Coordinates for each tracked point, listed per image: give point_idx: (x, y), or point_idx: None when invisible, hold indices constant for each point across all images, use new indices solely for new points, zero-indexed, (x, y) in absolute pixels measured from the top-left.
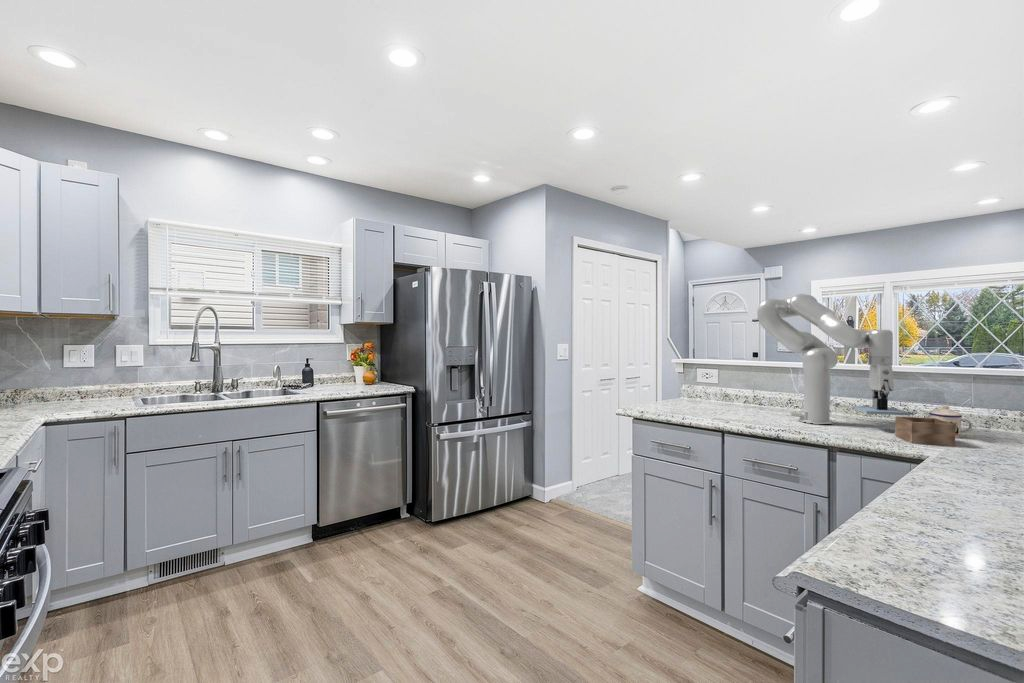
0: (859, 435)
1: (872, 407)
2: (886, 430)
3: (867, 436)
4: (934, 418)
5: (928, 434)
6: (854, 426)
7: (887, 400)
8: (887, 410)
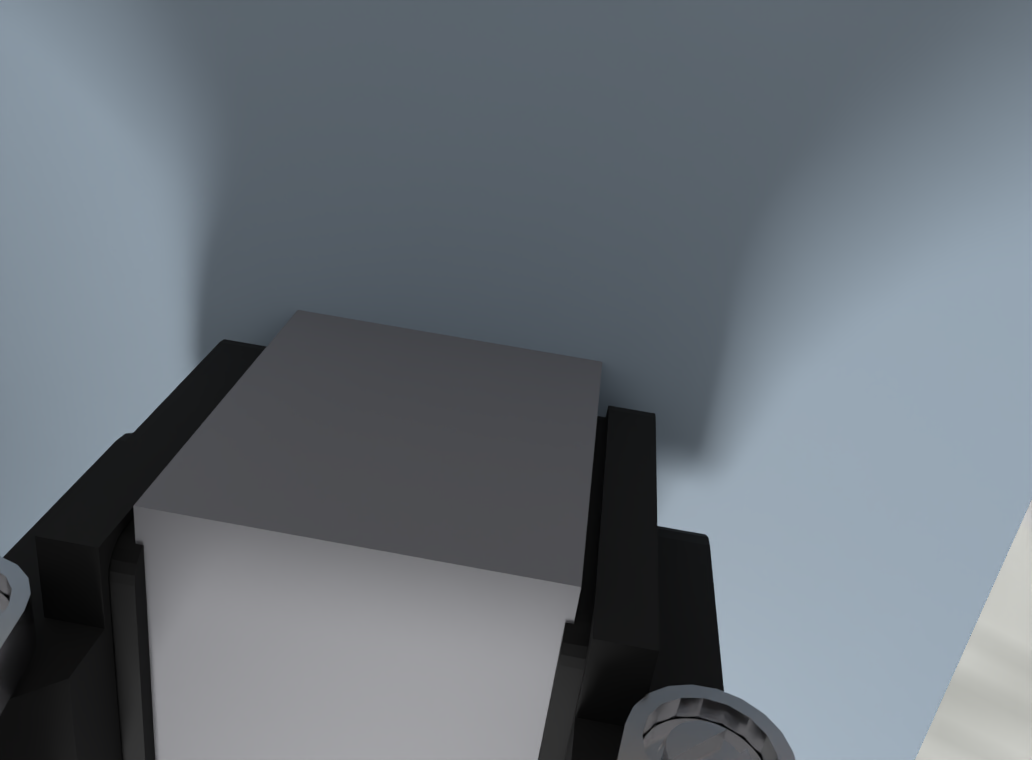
0: (952, 750)
1: (43, 447)
2: None
3: (1027, 691)
4: None
5: None
6: None
7: (653, 610)
8: (673, 400)
